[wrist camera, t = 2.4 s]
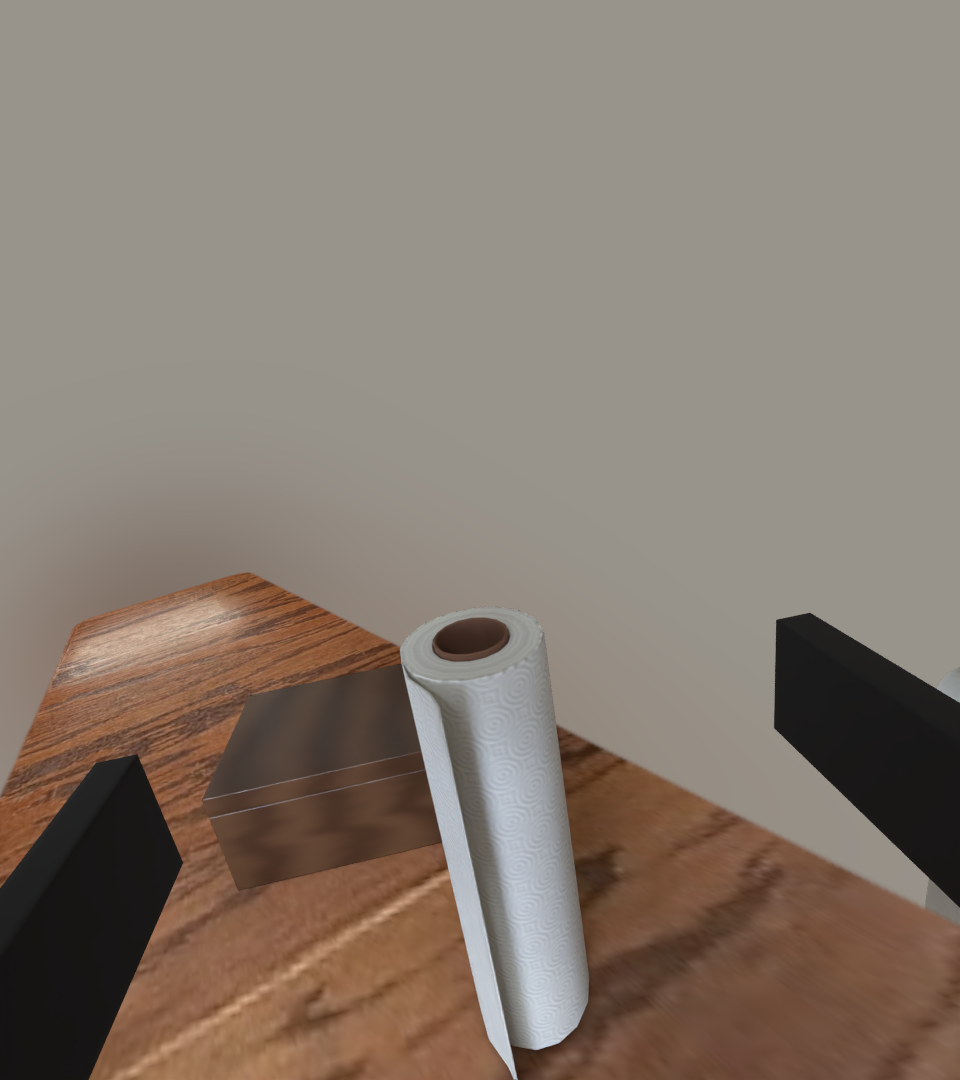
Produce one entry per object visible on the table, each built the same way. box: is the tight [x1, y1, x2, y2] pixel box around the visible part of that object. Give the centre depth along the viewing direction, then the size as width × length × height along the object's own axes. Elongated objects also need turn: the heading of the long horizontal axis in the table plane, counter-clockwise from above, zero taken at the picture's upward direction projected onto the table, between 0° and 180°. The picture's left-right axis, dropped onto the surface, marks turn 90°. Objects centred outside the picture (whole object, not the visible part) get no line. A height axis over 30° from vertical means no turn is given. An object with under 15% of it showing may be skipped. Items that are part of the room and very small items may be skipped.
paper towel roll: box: [400, 607, 589, 1080], centre depth 26 cm, size 7×6×21 cm
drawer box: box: [202, 664, 442, 890], centre depth 43 cm, size 16×12×8 cm
